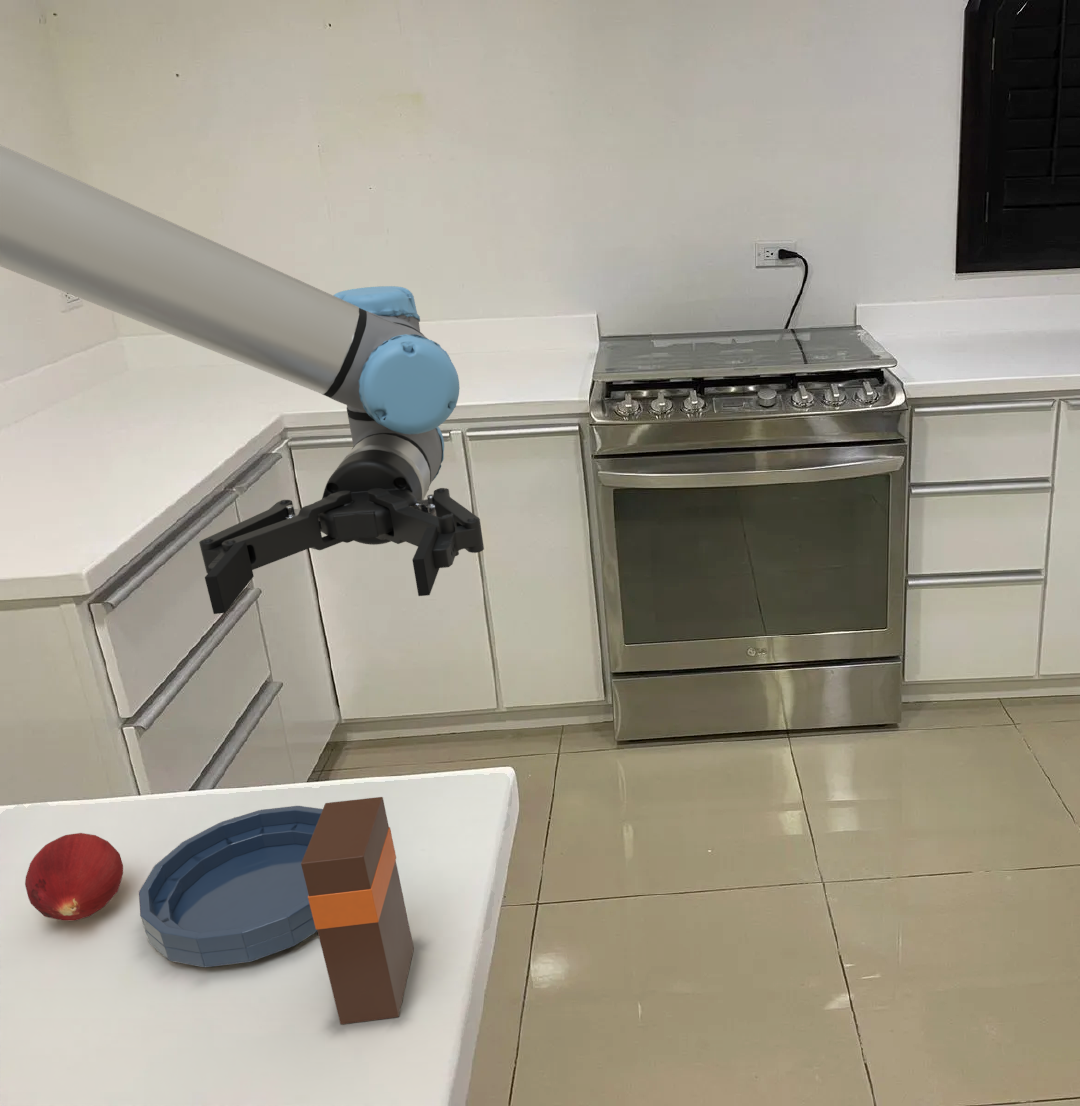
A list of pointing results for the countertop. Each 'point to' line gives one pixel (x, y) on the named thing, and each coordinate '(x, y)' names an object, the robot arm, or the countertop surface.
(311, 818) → the bowl
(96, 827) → the countertop surface
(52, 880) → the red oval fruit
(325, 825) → the snack carton
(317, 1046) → the countertop surface
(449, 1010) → the countertop surface
